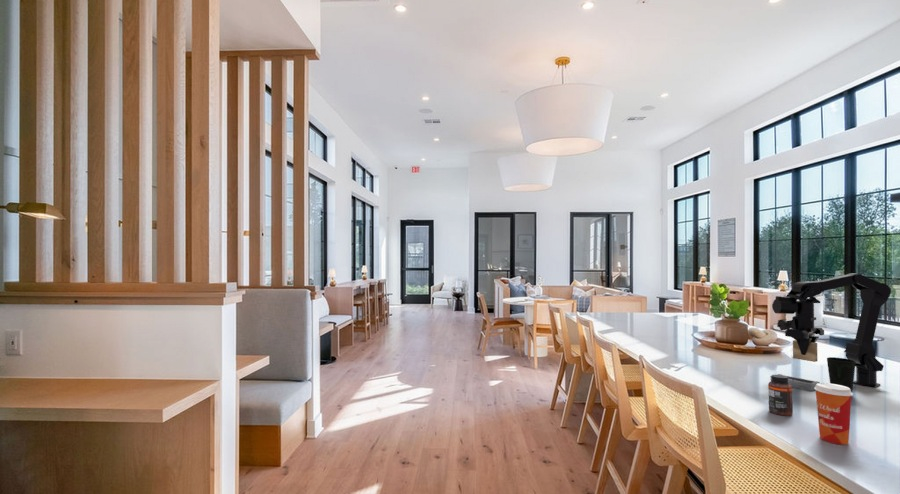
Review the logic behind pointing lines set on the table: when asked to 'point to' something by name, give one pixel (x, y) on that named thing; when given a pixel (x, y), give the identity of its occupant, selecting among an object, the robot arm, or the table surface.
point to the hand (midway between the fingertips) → (805, 354)
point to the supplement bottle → (780, 396)
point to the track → (801, 383)
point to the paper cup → (833, 412)
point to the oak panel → (810, 354)
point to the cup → (841, 371)
